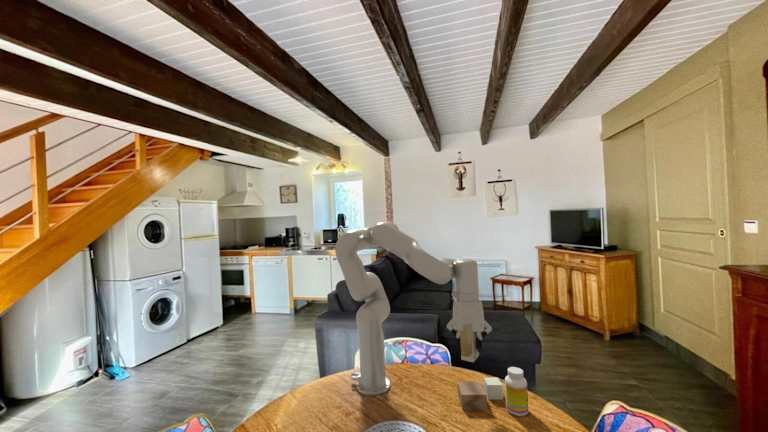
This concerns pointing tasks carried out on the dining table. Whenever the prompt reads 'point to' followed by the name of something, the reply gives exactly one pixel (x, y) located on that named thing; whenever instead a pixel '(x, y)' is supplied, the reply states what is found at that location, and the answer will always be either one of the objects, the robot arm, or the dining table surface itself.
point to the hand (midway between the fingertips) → (469, 349)
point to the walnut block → (472, 396)
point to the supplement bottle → (516, 392)
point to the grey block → (493, 388)
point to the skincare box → (468, 344)
